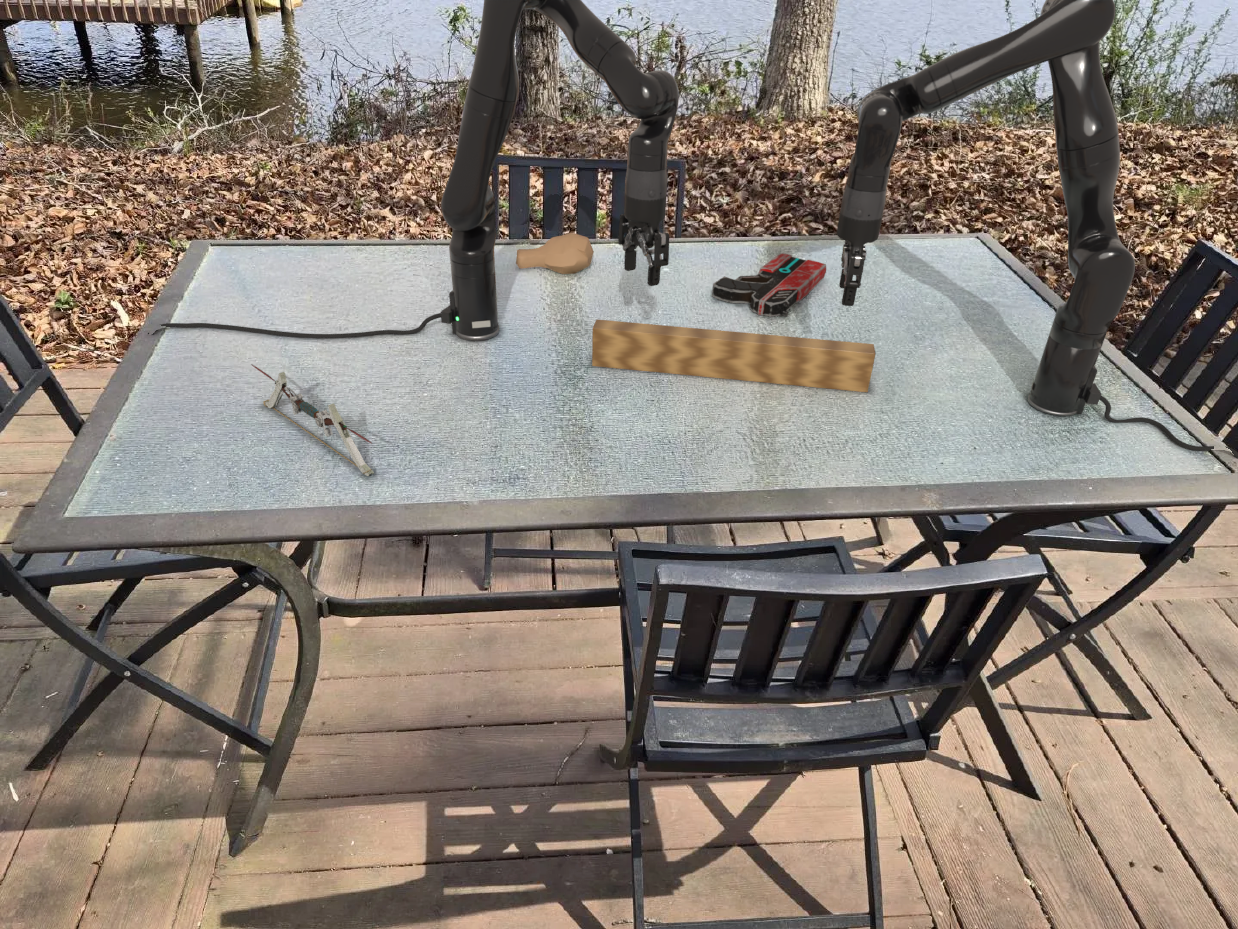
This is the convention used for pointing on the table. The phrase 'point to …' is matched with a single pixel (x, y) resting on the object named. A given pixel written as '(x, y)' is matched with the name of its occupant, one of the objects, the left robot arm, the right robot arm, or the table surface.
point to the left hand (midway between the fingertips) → (641, 277)
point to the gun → (772, 285)
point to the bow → (318, 419)
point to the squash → (559, 254)
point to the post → (733, 355)
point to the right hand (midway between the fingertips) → (846, 296)
